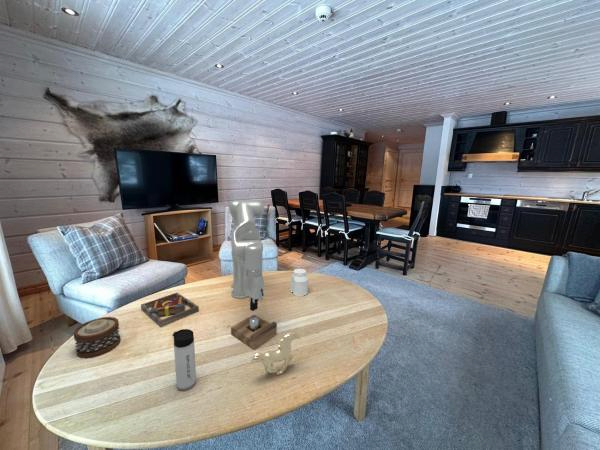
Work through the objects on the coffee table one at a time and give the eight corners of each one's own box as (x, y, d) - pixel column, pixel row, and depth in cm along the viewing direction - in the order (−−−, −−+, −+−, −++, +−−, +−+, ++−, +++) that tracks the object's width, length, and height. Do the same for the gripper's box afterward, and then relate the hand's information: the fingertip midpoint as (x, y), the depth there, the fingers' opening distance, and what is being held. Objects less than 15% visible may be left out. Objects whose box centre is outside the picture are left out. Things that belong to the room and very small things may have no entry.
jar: (309, 295, 155) (310, 273, 152) (295, 297, 151) (296, 275, 148) (301, 287, 165) (302, 267, 162) (288, 290, 161) (289, 268, 158)
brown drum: (113, 329, 97) (64, 338, 91) (116, 353, 99) (68, 363, 93) (123, 311, 110) (81, 317, 104) (125, 332, 112) (84, 340, 106)
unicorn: (252, 387, 85) (251, 344, 82) (248, 379, 89) (248, 337, 86) (301, 368, 95) (303, 328, 92) (296, 361, 98) (298, 323, 95)
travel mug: (180, 376, 89) (176, 327, 85) (198, 376, 89) (196, 327, 86) (172, 391, 83) (168, 339, 79) (192, 390, 83) (189, 338, 79)
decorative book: (154, 308, 134) (153, 300, 133) (186, 302, 140) (185, 294, 139) (150, 319, 124) (149, 310, 123) (185, 313, 130) (184, 304, 129)
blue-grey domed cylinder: (247, 334, 114) (247, 319, 112) (254, 331, 117) (254, 315, 115) (253, 338, 111) (253, 322, 110) (260, 334, 114) (260, 319, 113)
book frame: (141, 309, 132) (140, 304, 131) (177, 297, 147) (177, 292, 146) (160, 327, 117) (160, 321, 116) (198, 311, 132) (198, 306, 131)
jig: (231, 334, 113) (230, 323, 112) (253, 321, 124) (253, 310, 123) (253, 350, 104) (253, 337, 103) (276, 334, 115) (276, 323, 114)
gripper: (236, 269, 110) (237, 307, 113) (258, 278, 101) (258, 318, 104) (249, 265, 116) (249, 301, 119) (271, 273, 107) (271, 311, 110)
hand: (253, 309), depth 112 cm, fingers closed
